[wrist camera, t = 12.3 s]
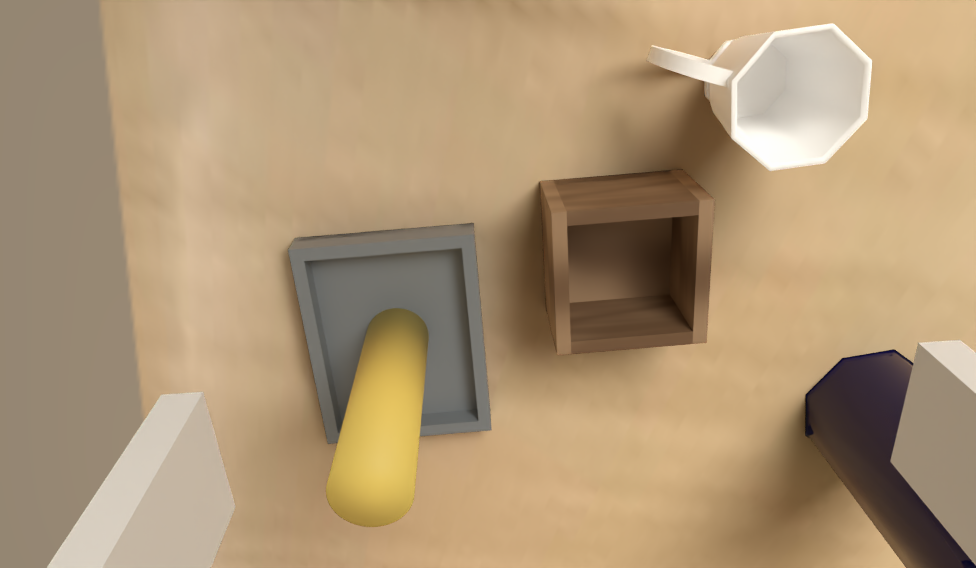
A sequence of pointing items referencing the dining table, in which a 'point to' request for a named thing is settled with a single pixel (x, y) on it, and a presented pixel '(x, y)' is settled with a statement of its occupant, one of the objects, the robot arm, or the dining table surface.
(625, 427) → the dining table surface
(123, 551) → the robot arm
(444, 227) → the tray
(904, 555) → the bottle
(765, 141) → the cup
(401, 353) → the dowel
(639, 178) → the holder
